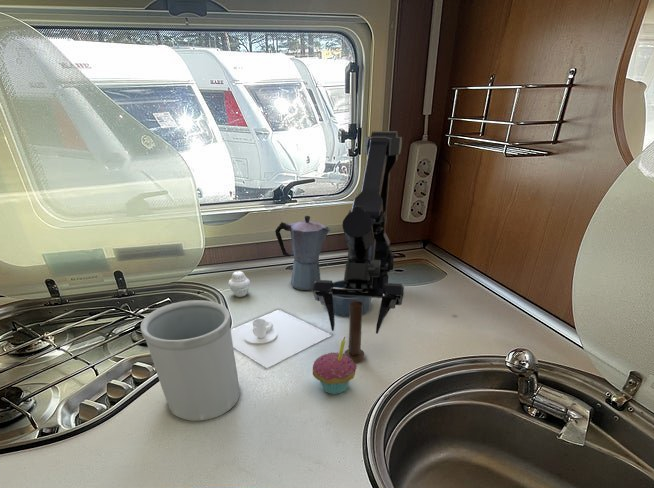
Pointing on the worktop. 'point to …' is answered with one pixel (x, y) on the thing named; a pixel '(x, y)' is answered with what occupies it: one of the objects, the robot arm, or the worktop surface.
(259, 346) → the teacup and saucer
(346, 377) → the cupcake
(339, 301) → the bowl
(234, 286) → the white lidded jar
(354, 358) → the brown flanged peg
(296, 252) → the moka pot
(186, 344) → the utensil holder
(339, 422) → the worktop surface
